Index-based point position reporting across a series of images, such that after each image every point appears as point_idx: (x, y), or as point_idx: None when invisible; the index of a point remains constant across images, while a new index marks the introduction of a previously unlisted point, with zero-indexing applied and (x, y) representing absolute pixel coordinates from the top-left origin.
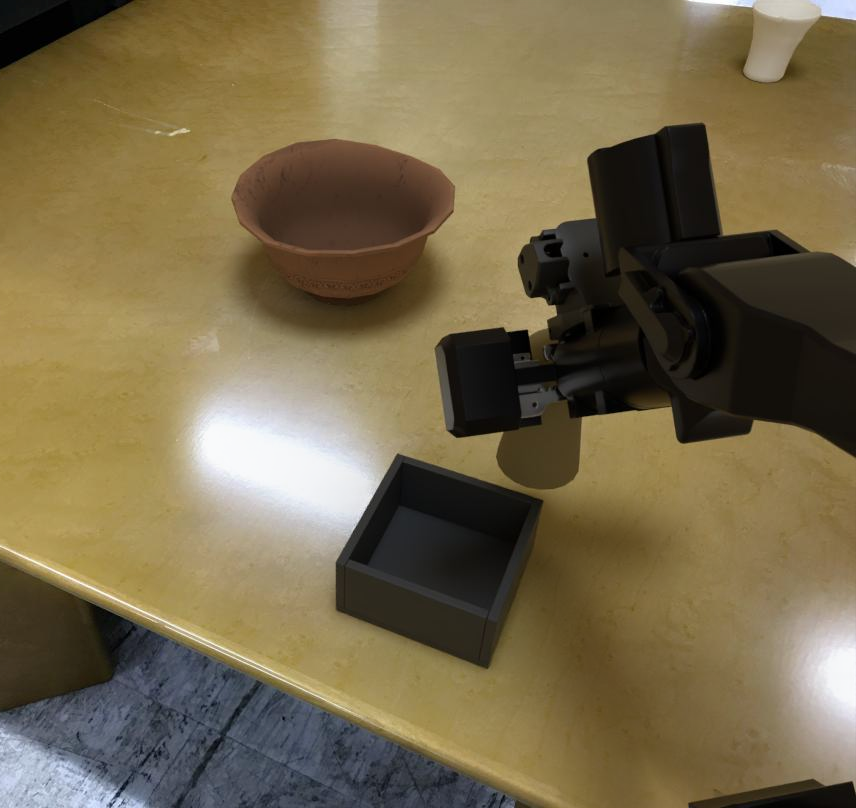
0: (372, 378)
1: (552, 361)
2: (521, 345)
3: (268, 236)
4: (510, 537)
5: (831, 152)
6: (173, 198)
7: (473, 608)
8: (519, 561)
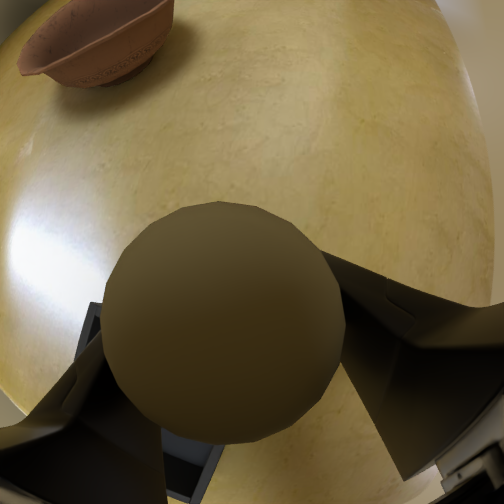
0: (120, 152)
1: (170, 420)
2: (9, 485)
3: (28, 67)
4: None
5: (432, 4)
6: None
7: (175, 496)
8: (219, 455)
